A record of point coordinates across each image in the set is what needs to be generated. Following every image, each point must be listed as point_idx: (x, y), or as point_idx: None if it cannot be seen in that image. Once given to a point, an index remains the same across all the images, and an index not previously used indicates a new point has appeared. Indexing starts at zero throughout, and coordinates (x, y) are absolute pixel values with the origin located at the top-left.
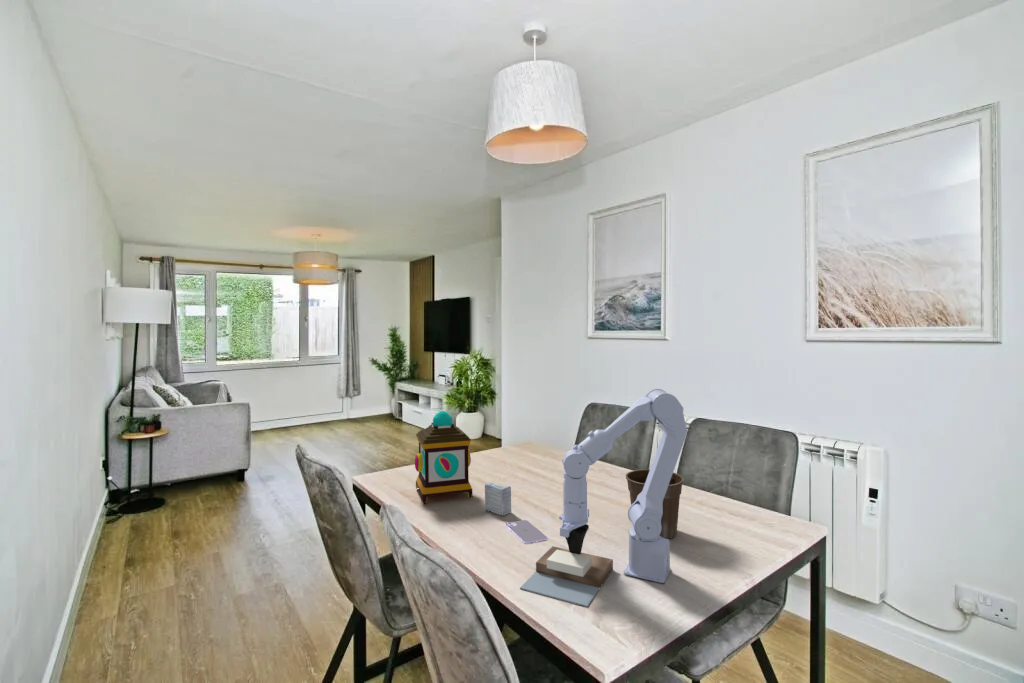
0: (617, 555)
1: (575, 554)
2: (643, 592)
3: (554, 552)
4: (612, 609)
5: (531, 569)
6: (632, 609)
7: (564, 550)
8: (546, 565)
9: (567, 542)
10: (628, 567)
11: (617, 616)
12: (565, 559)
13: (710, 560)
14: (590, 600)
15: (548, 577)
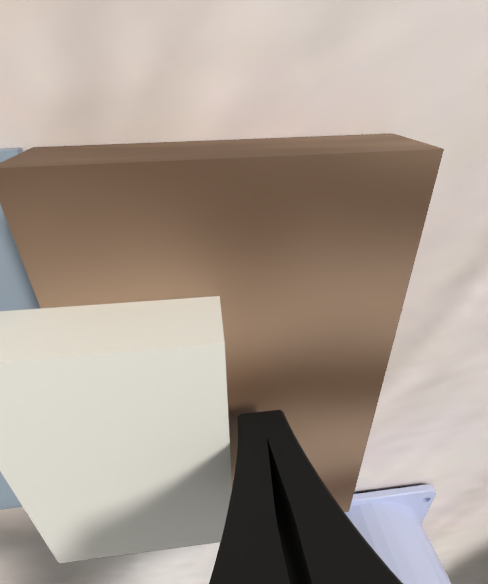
0: (478, 430)
1: (218, 476)
2: (209, 559)
3: (143, 355)
4: (30, 550)
5: (52, 71)
6: (83, 573)
7: (378, 287)
8: (34, 280)
9: (224, 532)
10: (354, 505)
11: (3, 568)
12: (87, 466)
13: (483, 580)
14: (6, 507)
15: (24, 283)
